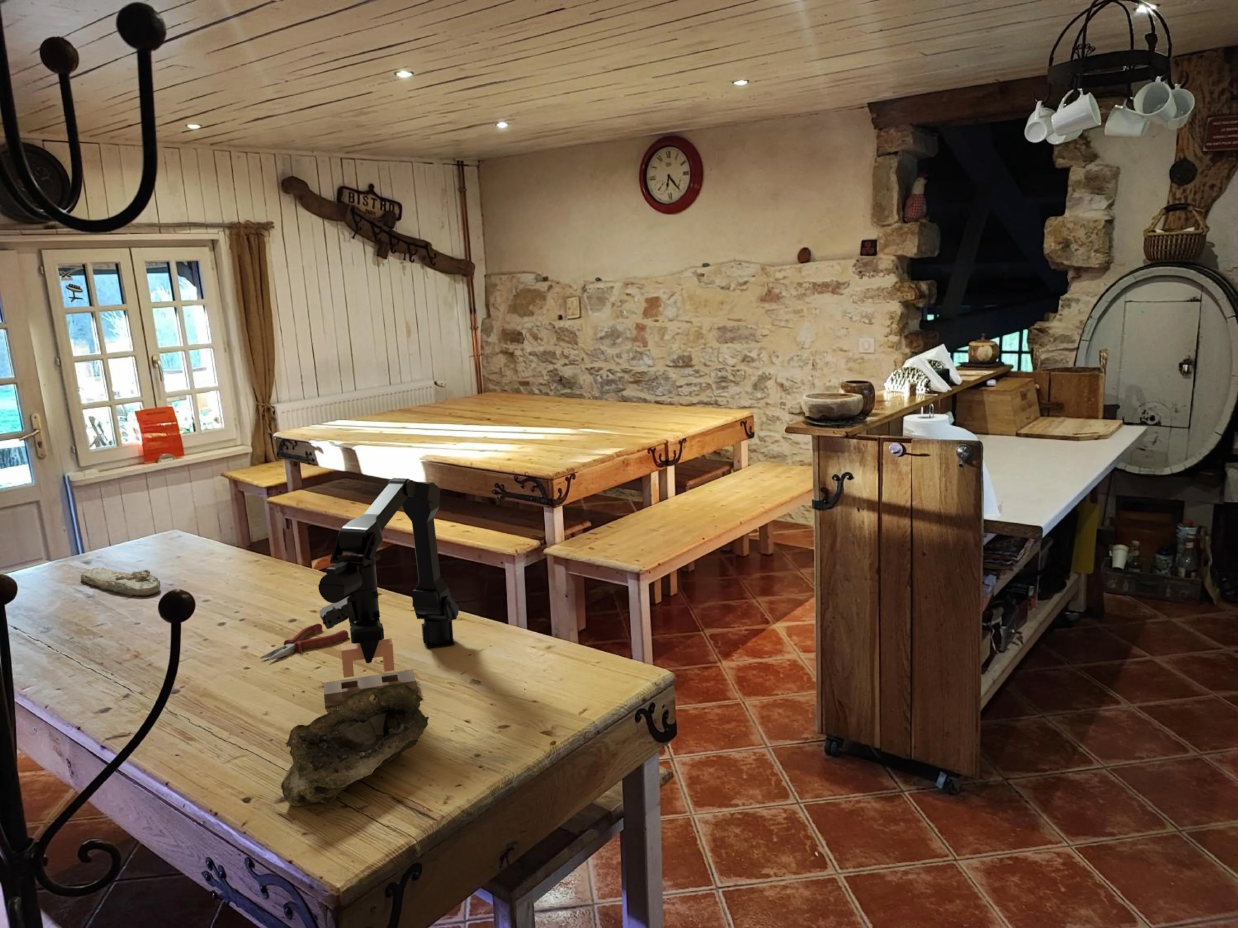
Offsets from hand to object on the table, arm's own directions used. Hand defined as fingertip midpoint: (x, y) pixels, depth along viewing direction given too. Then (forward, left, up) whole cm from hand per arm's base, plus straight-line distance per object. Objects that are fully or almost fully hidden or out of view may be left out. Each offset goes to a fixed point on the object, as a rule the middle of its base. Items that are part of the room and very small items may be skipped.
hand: (368, 659), depth 184 cm
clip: (0, 0, -3) cm, 3 cm away
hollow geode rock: (+3, +33, -8) cm, 34 cm away
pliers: (+14, -35, -9) cm, 39 cm away
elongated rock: (+65, -103, -8) cm, 122 cm away
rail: (0, 0, -8) cm, 8 cm away
